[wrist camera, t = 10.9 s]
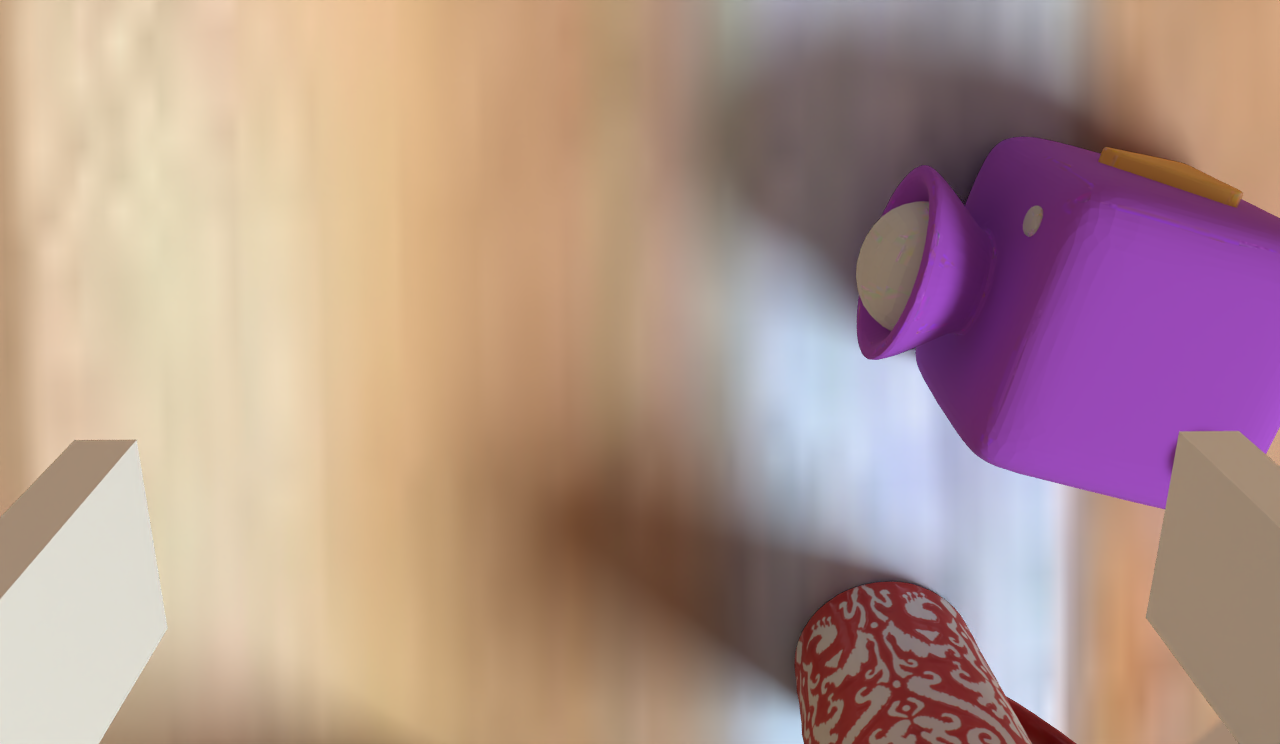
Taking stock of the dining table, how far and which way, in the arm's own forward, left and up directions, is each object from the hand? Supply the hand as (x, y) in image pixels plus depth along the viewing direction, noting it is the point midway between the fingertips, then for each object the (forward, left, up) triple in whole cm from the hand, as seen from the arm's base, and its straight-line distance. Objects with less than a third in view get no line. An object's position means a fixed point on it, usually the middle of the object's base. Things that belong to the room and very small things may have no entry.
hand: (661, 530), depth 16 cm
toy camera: (+14, -5, -29) cm, 32 cm away
